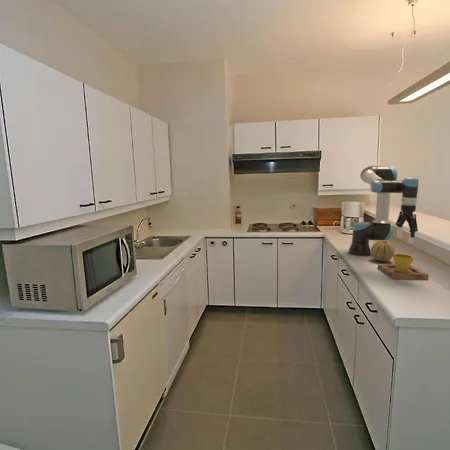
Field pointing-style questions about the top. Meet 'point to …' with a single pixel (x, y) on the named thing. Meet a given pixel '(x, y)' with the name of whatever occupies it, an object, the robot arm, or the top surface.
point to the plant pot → (402, 262)
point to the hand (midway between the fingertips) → (404, 240)
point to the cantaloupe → (382, 251)
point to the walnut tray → (411, 274)
